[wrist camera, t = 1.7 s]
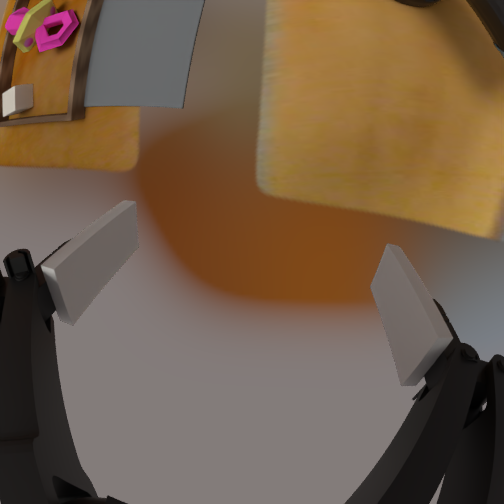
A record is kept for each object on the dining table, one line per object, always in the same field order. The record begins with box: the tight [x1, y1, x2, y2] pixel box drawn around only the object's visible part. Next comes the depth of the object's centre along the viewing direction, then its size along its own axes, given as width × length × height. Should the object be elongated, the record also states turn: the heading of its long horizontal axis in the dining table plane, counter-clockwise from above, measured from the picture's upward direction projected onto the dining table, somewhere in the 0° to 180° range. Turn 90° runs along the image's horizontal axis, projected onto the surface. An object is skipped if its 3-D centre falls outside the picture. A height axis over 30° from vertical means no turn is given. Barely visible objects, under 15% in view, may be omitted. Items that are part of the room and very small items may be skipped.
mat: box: [84, 0, 205, 108], centre depth 28 cm, size 24×18×1 cm
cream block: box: [2, 84, 33, 117], centre depth 31 cm, size 5×5×5 cm
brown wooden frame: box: [0, 0, 104, 127], centre depth 26 cm, size 32×26×4 cm
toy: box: [5, 0, 79, 53], centre depth 22 cm, size 10×18×10 cm, turn 55°
